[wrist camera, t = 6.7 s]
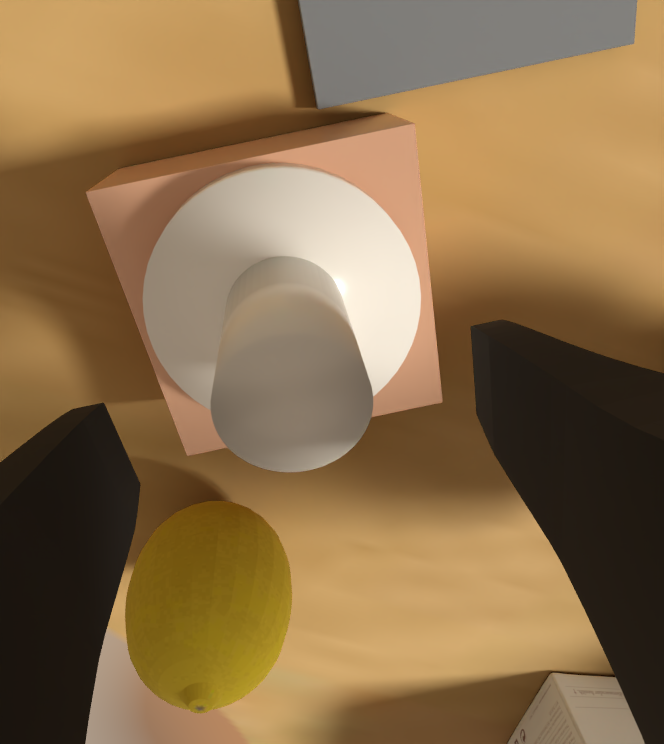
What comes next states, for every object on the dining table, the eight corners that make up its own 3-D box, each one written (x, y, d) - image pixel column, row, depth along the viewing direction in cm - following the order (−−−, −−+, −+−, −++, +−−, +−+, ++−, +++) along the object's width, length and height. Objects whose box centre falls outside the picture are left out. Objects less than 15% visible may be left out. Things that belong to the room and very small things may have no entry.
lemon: (120, 514, 23) (55, 716, 16) (218, 434, 21) (195, 615, 14) (221, 581, 25) (204, 783, 18) (315, 512, 24) (336, 701, 17)
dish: (387, 112, 17) (414, 123, 14) (416, 351, 20) (442, 402, 17) (118, 168, 17) (85, 192, 13) (198, 397, 20) (187, 456, 17)
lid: (407, 145, 14) (484, 190, 9) (415, 392, 17) (474, 520, 12) (117, 181, 13) (34, 246, 9) (183, 424, 17) (151, 569, 12)
